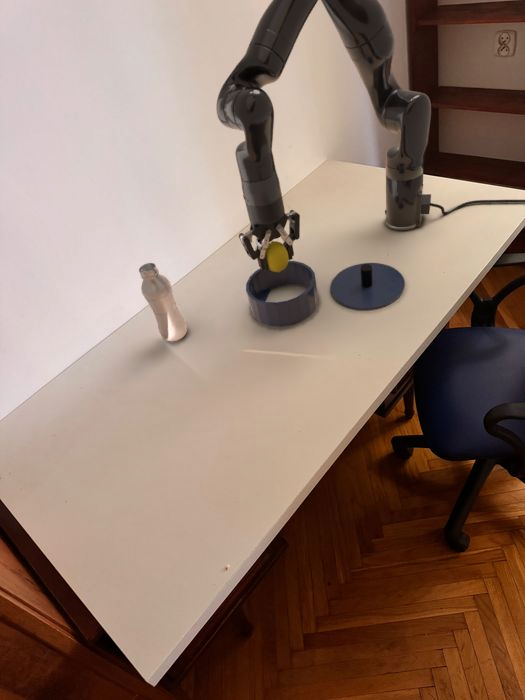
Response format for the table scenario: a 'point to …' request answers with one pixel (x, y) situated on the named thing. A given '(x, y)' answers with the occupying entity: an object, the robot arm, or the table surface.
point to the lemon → (276, 256)
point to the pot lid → (367, 286)
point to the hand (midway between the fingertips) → (277, 263)
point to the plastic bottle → (162, 303)
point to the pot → (284, 310)
